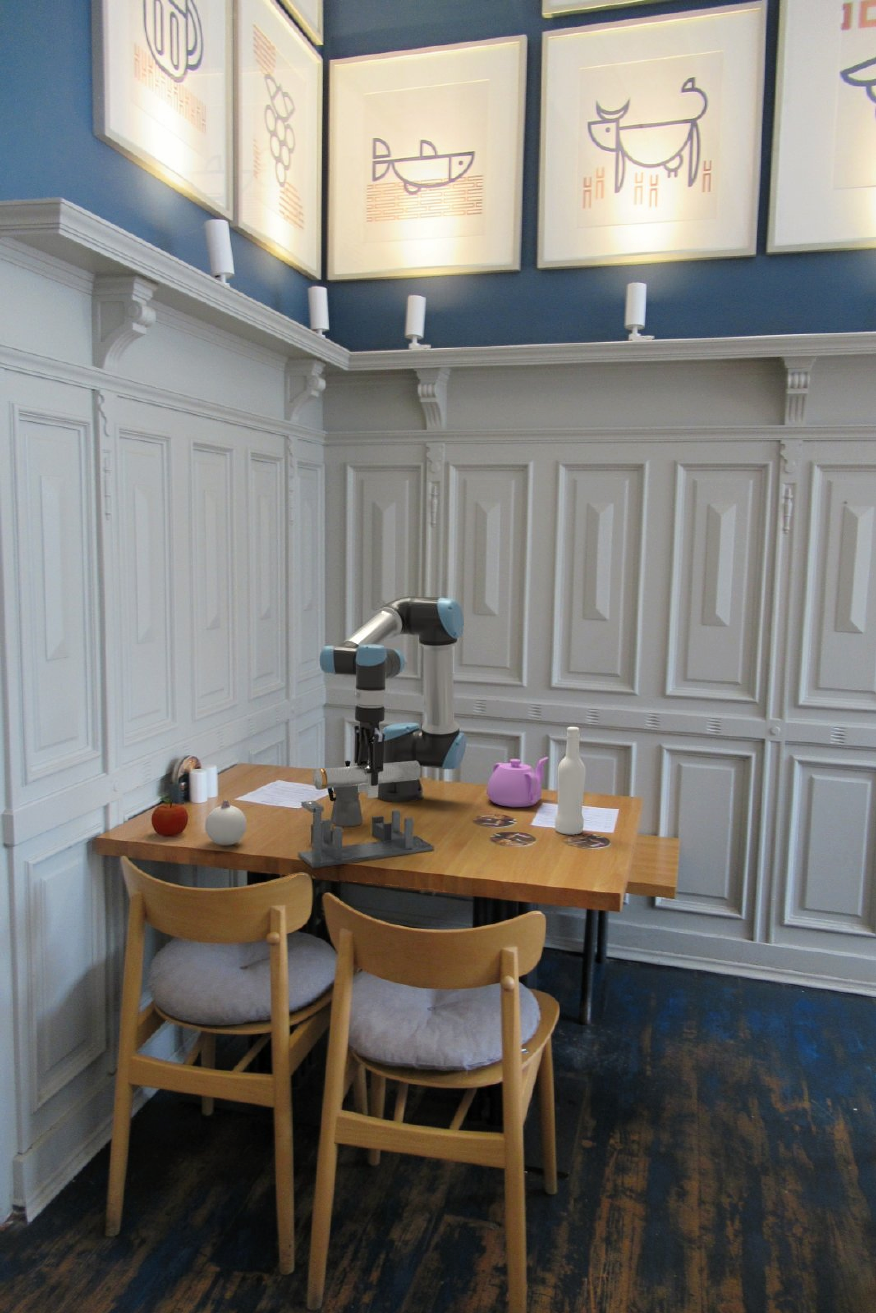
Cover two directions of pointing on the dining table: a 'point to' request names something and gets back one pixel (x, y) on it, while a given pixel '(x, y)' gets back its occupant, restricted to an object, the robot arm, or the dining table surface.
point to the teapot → (515, 784)
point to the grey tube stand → (341, 854)
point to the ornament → (225, 824)
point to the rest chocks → (378, 829)
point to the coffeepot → (345, 805)
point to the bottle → (570, 787)
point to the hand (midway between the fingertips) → (367, 794)
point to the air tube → (365, 775)
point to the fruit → (169, 819)
